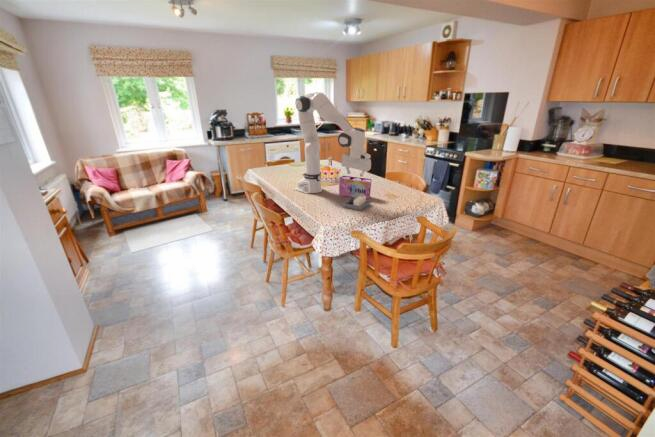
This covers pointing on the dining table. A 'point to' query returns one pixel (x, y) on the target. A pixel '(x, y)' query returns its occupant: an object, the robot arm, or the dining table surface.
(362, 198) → the beige block
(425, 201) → the dining table surface
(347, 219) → the dining table surface
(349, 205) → the keyhole plate
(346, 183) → the gum box
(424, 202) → the dining table surface
